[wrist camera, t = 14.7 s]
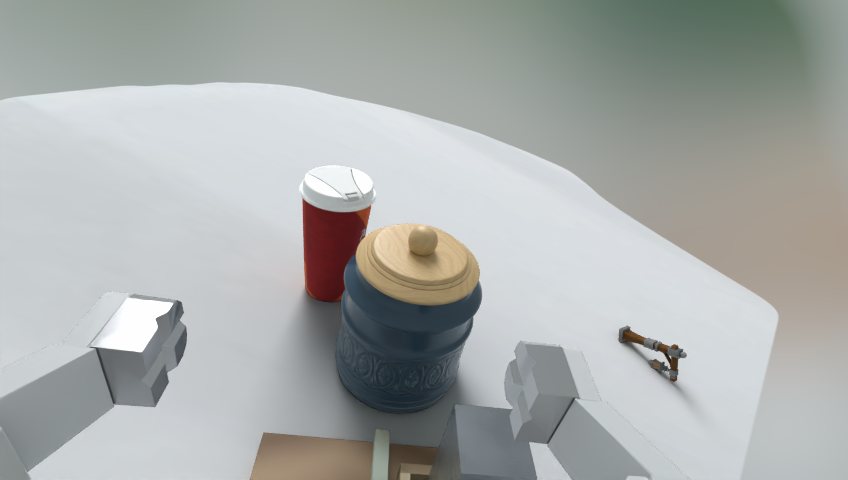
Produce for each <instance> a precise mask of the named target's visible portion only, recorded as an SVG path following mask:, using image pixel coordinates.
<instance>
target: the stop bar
mask: <svg viewBox="0 0 848 480" xmlns="http://www.w3.org/2000/svg"><path fill="white" fill-rule="evenodd" d="M511 411H512V409H502V408H492V407H481V406H471V405H460V404H454V407H453V410H452V413H451V416H450V418H449V421H448V424H447V427H446V429H445V432H444V435H443V438H442V440H441V443H440V446H439V449H438V451H437V454H436V457H435V460H434V463H433V465H432V468H431V471H430V474H429V476H428V479H427V480H537V476H536V471H535V467H534V463H533V458H532V454H531V450H530V445H529V442H526V441H517V440H514V436H513V431H512V426H511V421H510V413H511Z"/></svg>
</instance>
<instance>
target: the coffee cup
mask: <svg viewBox="0 0 848 480" xmlns="http://www.w3.org/2000/svg"><path fill="white" fill-rule="evenodd" d="M299 192H300V195H301V196H302V198H303V237H304V270H305V286H306V290H307V292H308V293H309V294H310V295H311V296H312V297H313V298H315V299H317V300H320V301H324V302H337V301H341V300H342V295H343V292H344V290H345V284H344V271H345V267H346V265H347V263H348V261H349V260H350V258H351V257H352V256H353V255H354V254H355V253H356V251H357V248H358V245H359V244H360V242H361V241H362V239H363V238H364V237H365V234H366V229H367V224H368V219H369V214H370V209H371V205H372V204H373V203H374V201H375V199H376V192H375V190H374V188H373V182H372V180H371V179H370V178H369V176H367V175H366V174H365V173H363V172H361V171H359V170H357V169H354V168H350V167H345V166H337V165H329V166H321V167H317V168H314V169H312V170H311V171H309V172H308V173H307V174H306V175H305V177H304V180H303V182H302V183H301V184H300V187H299Z"/></svg>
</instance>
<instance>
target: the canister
mask: <svg viewBox="0 0 848 480" xmlns="http://www.w3.org/2000/svg"><path fill="white" fill-rule="evenodd" d="M479 274H480V272H479V266H478V263H477V261H476V259H475V257H474V256H473V254H472V253H471V252H470V251H469V249H468V248H467V247H465V246H464V245H463V244H462V243H460V242H459V241H458V240H456V239H455V238H454V237H452V236H451V235H449V234H448V233H446V232H444V231H442V230H439V229H437V228H434V227H431V226H427V225H421V224H398V225H394V226H388V227H384V228H380V229H378V230H375V231H373V232H371V233H370V234H368V235H367V236H366V237H364V238H363V239H362V241H361V242H360V244H359V245H358V248H357V251H356V253H355V254H354V255H353V256H352V257H351V258H350V260H349V261H348V263H347V265H346V267H345V271H344V284H345V290H344V292H343V295H342V300H341V310H342V314H341V323H340V332H339V335H338V338H337V343H336V362H337V366H338V372H339V375H340V377H341V380H342V382H343V383H344V385H345V386H346V388H347V389H348V390H349V391H350V392H351V393H352V395H354V396H355V397H356V398H357V399H359V400H360V401H361V402H363V403H365V404H366V405H368V406H370V407H373V408H375V409H378V410H382V411H386V412H392V413H410V412H415V411H419V410H422V409H425V408H427V407H429V406H431V405H433V404H434V403H436V402H437V401H438V400H440V399H441V398H442V397H443V395H444V394H445V393H446V391H447V390H448V389H449V388H450V386H451V385H452V383H453V381H454V379H455V377H456V374H457V371H458V368H459V360H460V357H461V354H462V351H463V348H464V345H465V342H466V340H467V338H468V337H469V335H470V332H471V330H472V326H473V316H474V315H475V314H476V312H477V311H478V309H479V307H480V304H481V300H482V289H481V285H480V282H479Z"/></svg>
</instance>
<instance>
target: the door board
mask: <svg viewBox="0 0 848 480" xmlns="http://www.w3.org/2000/svg"><path fill="white" fill-rule="evenodd" d="M389 438H390V430H381V429H376V431H375V436H374V440H373V442H365V441H354V440H342V439H331V438H320V437H308V436H297V435H285V434H274V433H263V436H262V440H261V443H260V446H259V450H258V453H257V457H256V460H255V463H254V467H253V470H252V473H251V477H250V480H427V479H428V476H429V474H430V471H431V468H432V465H433V463H434V460H435V457H436V454H437V451H438V449H439V448H434V447H422V446H411V445H399V444H389Z"/></svg>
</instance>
